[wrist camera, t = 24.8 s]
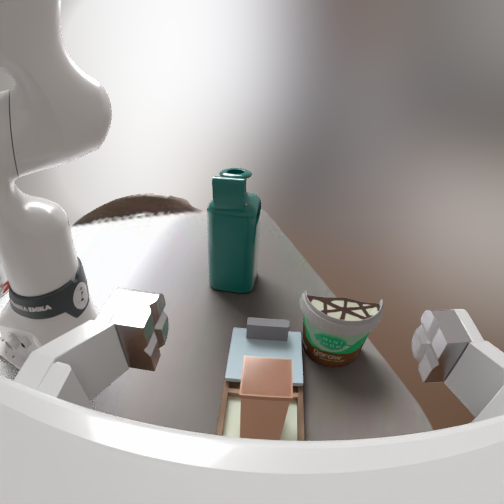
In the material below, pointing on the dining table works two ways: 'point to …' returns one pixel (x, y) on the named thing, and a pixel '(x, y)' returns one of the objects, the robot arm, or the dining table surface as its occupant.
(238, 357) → the cover
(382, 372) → the dining table surface
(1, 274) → the french press
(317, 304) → the food container
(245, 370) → the canister
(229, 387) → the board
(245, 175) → the green bottle
